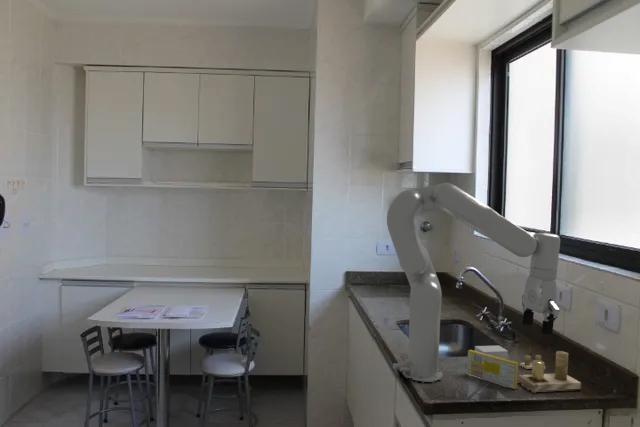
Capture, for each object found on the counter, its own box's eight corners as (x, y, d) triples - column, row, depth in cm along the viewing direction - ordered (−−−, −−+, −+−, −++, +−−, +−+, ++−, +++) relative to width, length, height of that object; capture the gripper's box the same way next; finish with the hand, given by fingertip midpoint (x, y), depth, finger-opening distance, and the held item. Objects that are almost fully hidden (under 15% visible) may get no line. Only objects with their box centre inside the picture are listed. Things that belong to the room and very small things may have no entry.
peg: (545, 389, 155) (546, 363, 154) (535, 389, 154) (536, 364, 154) (538, 384, 158) (540, 359, 158) (528, 385, 157) (530, 360, 157)
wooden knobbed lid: (526, 370, 171) (527, 358, 171) (519, 365, 175) (520, 354, 174) (545, 369, 172) (546, 357, 172) (538, 365, 176) (538, 353, 176)
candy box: (517, 389, 155) (519, 362, 154) (514, 390, 153) (515, 363, 153) (469, 373, 166) (470, 348, 166) (465, 375, 165) (467, 350, 164)
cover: (482, 369, 170) (483, 351, 170) (474, 363, 176) (474, 346, 176) (507, 368, 172) (508, 351, 171) (497, 362, 178) (498, 345, 177)
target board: (533, 393, 151) (534, 358, 151) (517, 382, 159) (519, 349, 159) (580, 390, 154) (582, 356, 154) (563, 380, 162) (565, 348, 162)
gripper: (515, 267, 162) (510, 320, 163) (549, 279, 145) (543, 337, 146) (536, 268, 163) (531, 321, 164) (573, 280, 146) (566, 338, 147)
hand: (536, 329), depth 155 cm, fingers open, 9 cm apart
